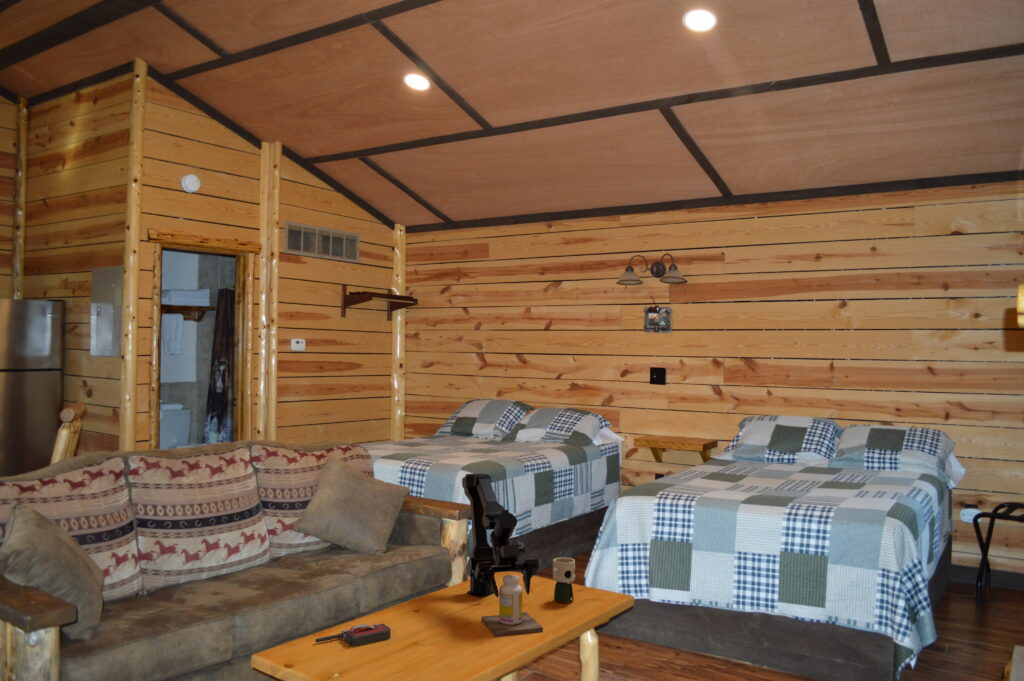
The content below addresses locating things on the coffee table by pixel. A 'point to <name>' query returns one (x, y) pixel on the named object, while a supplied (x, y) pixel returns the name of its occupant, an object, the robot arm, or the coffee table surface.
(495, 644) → the coffee table surface
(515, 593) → the supplement bottle
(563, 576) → the character mug
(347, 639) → the walkie-talkie
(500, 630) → the walnut board
